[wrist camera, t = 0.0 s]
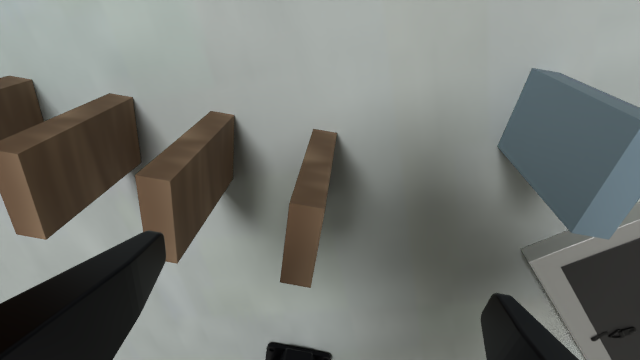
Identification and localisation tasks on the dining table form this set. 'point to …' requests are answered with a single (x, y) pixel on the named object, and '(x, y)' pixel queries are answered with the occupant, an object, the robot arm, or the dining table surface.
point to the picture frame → (595, 287)
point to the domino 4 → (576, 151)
